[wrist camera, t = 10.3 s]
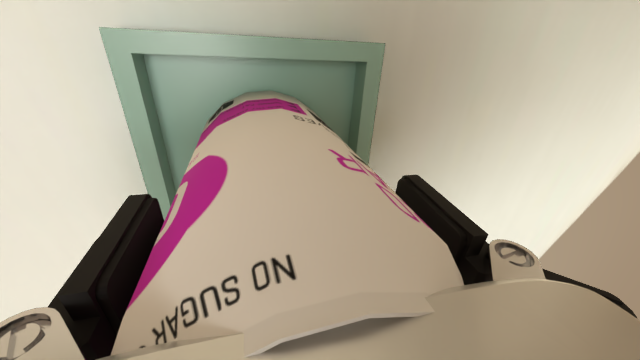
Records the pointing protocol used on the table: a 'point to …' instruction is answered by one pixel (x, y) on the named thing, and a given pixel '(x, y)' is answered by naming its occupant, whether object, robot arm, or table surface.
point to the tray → (232, 89)
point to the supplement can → (281, 237)
